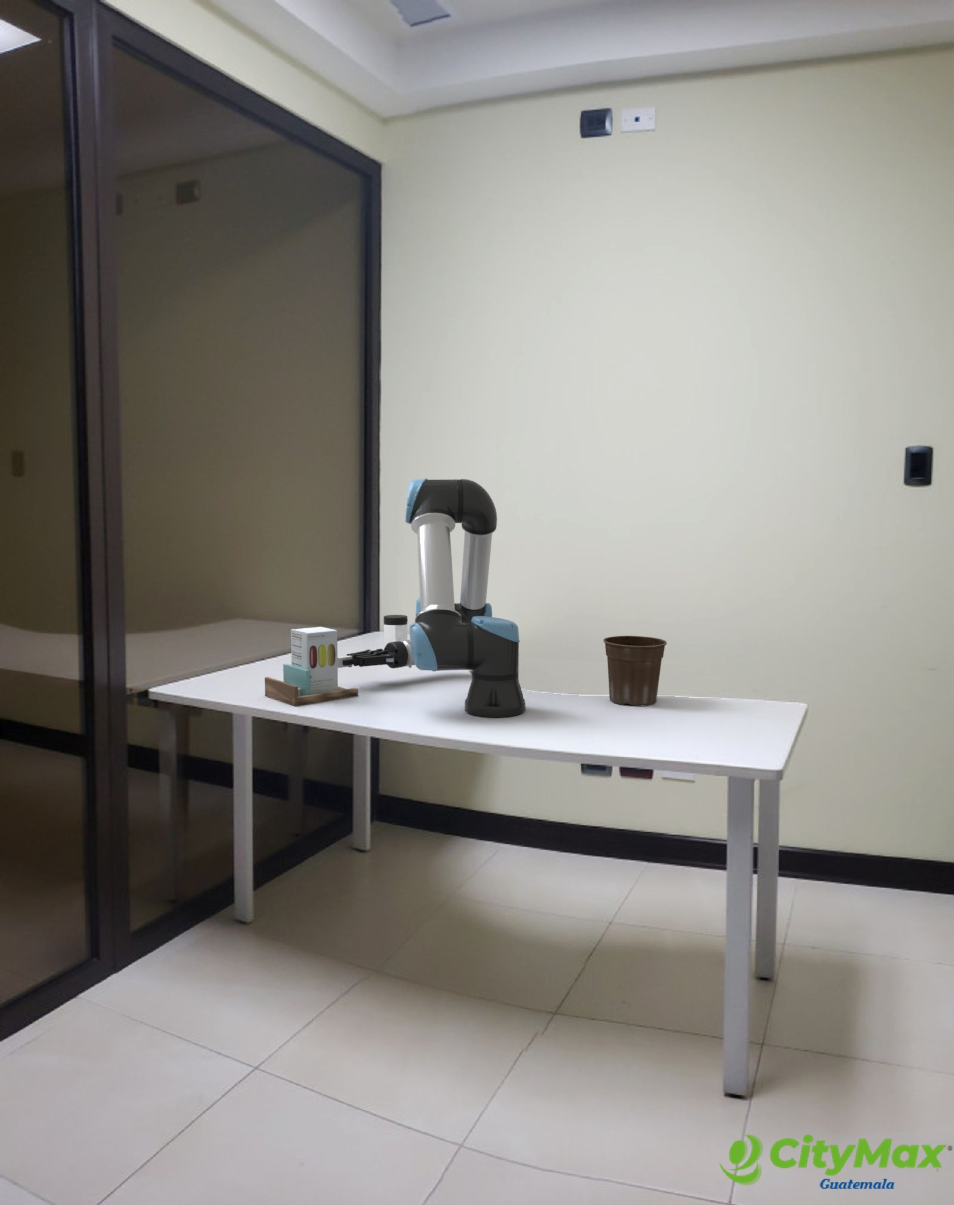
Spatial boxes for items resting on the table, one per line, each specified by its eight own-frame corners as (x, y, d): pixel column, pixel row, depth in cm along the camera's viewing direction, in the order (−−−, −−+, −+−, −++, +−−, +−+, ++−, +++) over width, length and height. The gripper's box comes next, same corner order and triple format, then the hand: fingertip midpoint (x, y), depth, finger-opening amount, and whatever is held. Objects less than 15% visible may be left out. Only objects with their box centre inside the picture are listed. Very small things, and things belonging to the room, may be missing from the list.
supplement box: (307, 697, 246) (305, 633, 244) (290, 691, 253) (289, 629, 251) (339, 692, 251) (338, 629, 249) (322, 686, 259) (321, 625, 257)
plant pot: (678, 703, 244) (680, 642, 242) (630, 711, 235) (632, 647, 233) (636, 692, 257) (637, 633, 255) (589, 699, 249) (590, 638, 247)
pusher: (287, 689, 254) (287, 663, 253) (310, 696, 244) (310, 670, 244) (275, 691, 251) (275, 665, 250) (298, 698, 242) (297, 671, 241)
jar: (389, 654, 317) (389, 618, 315) (378, 650, 323) (378, 615, 322) (413, 651, 321) (412, 616, 320) (401, 648, 328) (401, 614, 327)
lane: (326, 686, 264) (326, 668, 263) (358, 696, 252) (357, 677, 251) (265, 695, 252) (264, 677, 251) (294, 706, 239) (294, 686, 239)
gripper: (415, 670, 265) (343, 680, 250) (388, 663, 275) (318, 673, 260) (415, 643, 264) (343, 653, 249) (388, 638, 274) (317, 646, 259)
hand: (330, 663), depth 255 cm, fingers closed
